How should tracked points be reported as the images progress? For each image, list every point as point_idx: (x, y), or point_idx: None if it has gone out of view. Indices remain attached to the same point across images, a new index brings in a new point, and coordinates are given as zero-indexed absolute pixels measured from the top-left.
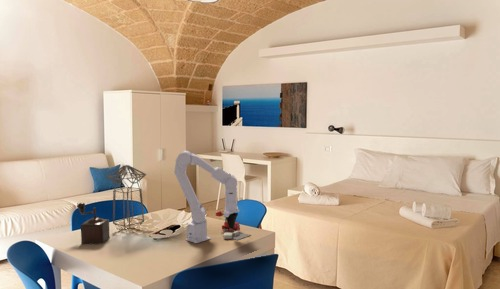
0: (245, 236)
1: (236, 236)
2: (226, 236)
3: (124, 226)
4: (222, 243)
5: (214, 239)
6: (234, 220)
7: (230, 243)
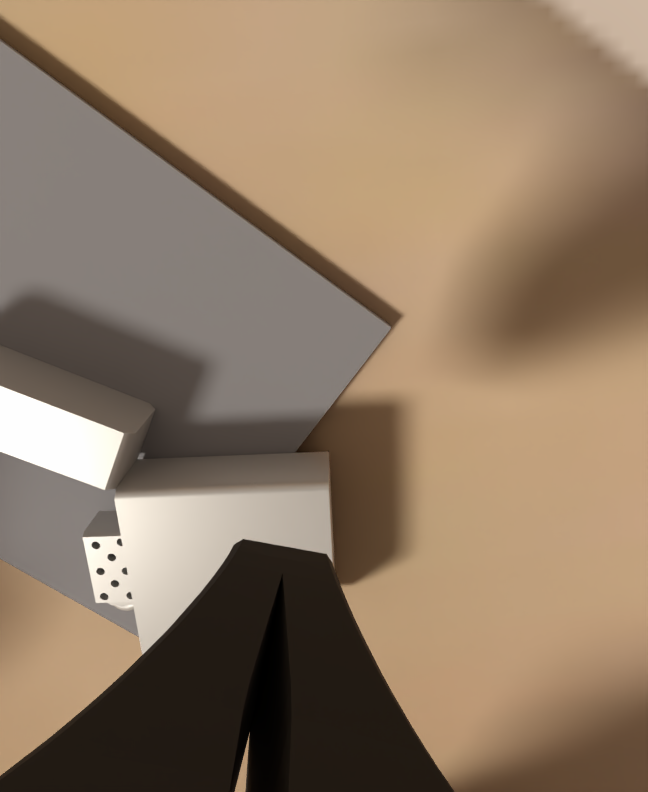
0: (111, 148)
1: (153, 372)
2: None
3: None
4: (589, 573)
5: None
6: (322, 779)
7: (597, 430)
